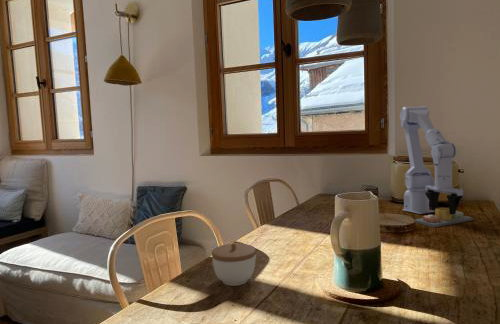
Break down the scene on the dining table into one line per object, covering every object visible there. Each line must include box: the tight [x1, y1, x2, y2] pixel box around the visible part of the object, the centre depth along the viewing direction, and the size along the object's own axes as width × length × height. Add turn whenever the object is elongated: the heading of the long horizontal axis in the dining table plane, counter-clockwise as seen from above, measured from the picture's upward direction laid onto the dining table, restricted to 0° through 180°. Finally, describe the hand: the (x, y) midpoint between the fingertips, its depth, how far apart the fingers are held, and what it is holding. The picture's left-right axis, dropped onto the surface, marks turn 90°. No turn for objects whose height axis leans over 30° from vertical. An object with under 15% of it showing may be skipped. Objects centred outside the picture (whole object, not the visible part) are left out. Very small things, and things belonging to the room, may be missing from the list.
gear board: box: [413, 210, 474, 228], centre depth 138 cm, size 9×20×3 cm, turn 113°
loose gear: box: [434, 207, 452, 220], centre depth 138 cm, size 6×6×4 cm
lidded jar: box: [211, 242, 257, 287], centre depth 91 cm, size 11×11×9 cm
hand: (443, 212), depth 138 cm, fingers open, 7 cm apart
